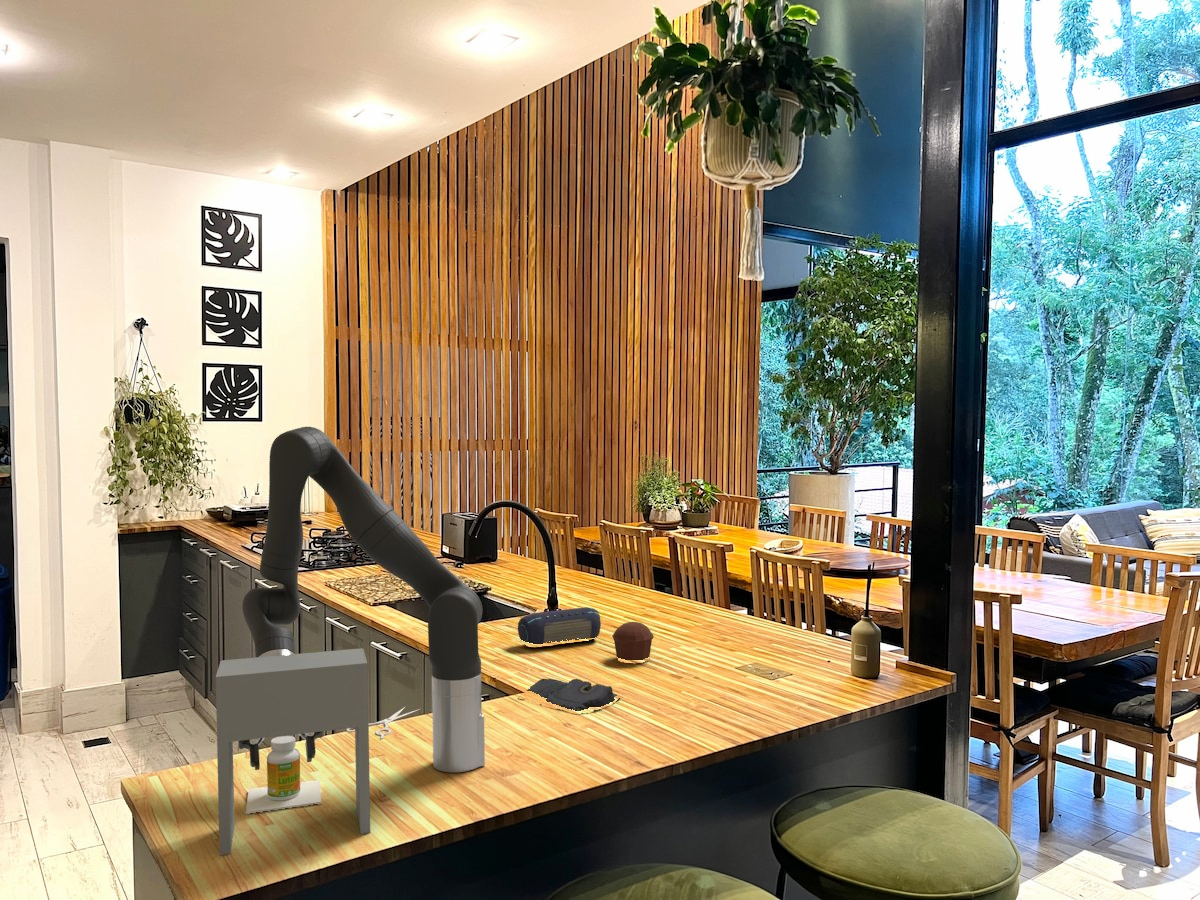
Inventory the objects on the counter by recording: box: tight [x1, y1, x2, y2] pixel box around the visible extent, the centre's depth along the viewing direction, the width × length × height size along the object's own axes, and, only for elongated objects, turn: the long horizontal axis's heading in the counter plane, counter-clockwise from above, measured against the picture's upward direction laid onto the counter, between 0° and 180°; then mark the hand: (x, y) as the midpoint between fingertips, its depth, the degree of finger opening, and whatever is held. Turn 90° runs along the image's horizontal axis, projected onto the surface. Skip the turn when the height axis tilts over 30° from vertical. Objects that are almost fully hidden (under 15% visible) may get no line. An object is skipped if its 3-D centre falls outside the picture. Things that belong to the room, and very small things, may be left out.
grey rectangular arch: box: [215, 647, 371, 856], centre depth 144 cm, size 22×11×27 cm, turn 109°
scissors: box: [346, 706, 420, 740], centre depth 196 cm, size 11×1×20 cm
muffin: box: [611, 621, 655, 660], centre depth 245 cm, size 12×11×10 cm
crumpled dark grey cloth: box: [526, 678, 618, 711], centre depth 210 cm, size 15×22×5 cm
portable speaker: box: [517, 606, 602, 644], centre depth 263 cm, size 25×10×10 cm, turn 117°
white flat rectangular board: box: [245, 779, 322, 815], centre depth 156 cm, size 12×10×1 cm
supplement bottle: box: [266, 735, 301, 800], centre depth 156 cm, size 5×5×10 cm
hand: (283, 763), depth 155 cm, fingers open, 8 cm apart
